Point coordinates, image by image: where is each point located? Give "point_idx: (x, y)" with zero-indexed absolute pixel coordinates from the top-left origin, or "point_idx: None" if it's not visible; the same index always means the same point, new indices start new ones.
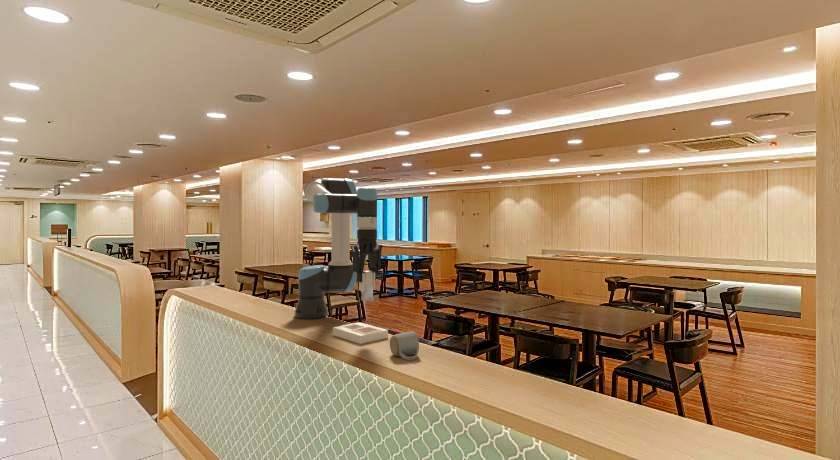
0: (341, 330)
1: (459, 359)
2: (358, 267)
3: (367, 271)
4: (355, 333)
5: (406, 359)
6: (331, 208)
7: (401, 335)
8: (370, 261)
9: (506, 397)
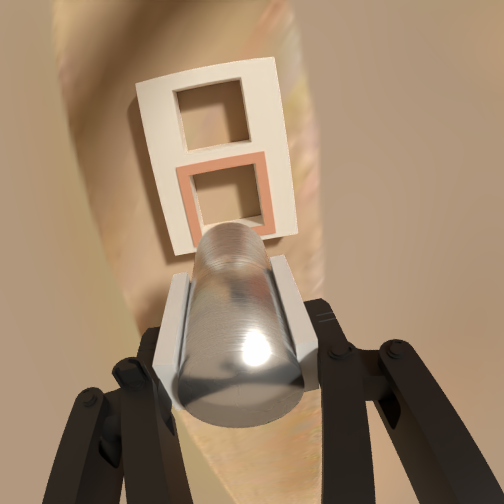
0: (146, 140)
1: (303, 413)
2: (119, 460)
3: (235, 407)
4: (171, 217)
5: None
6: None
7: None
8: (323, 468)
9: (245, 479)
